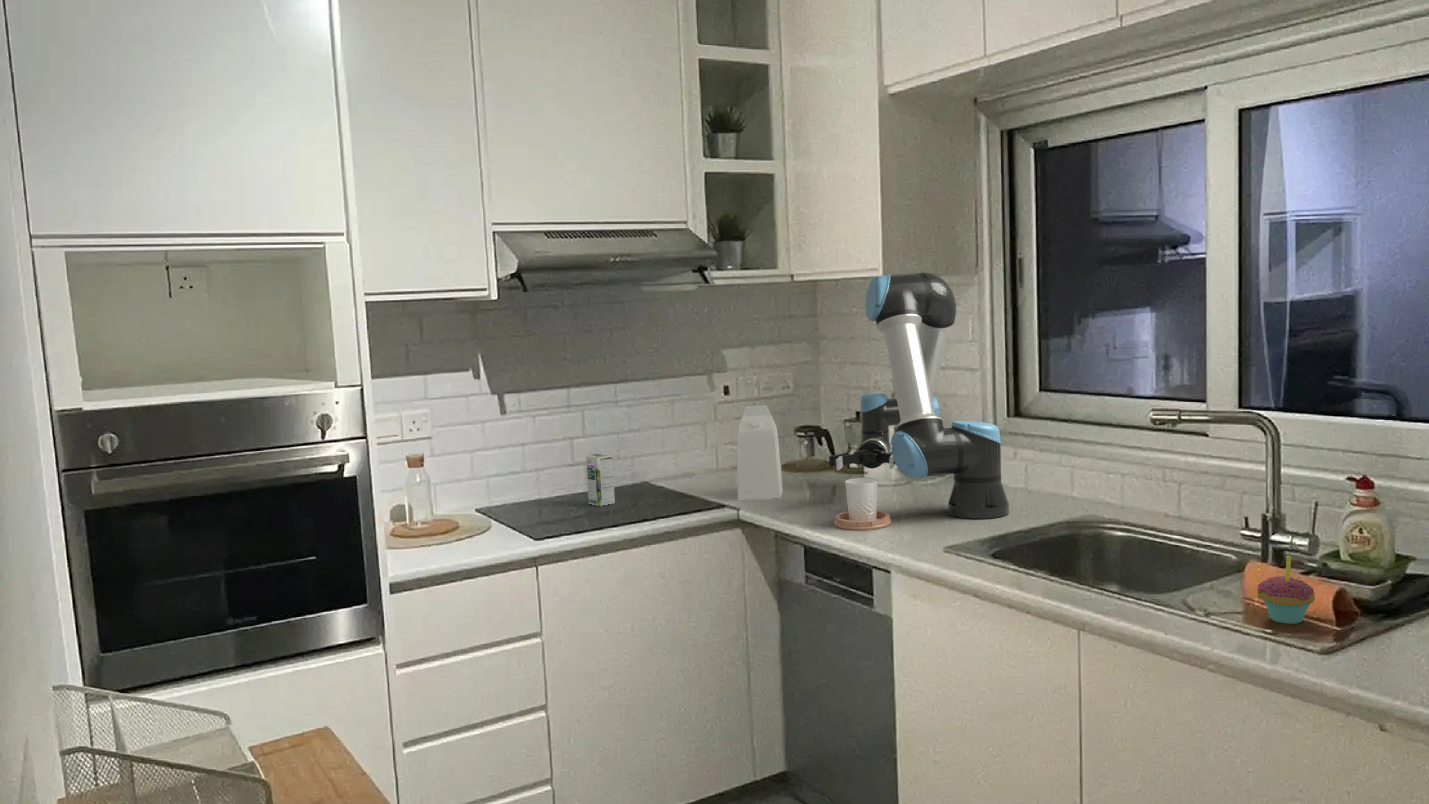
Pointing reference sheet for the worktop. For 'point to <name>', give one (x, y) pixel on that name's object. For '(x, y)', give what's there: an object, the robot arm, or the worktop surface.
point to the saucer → (862, 522)
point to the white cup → (862, 499)
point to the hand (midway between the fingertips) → (864, 464)
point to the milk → (758, 455)
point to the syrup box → (600, 479)
